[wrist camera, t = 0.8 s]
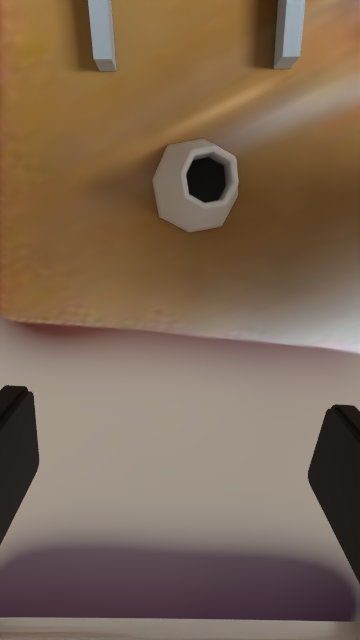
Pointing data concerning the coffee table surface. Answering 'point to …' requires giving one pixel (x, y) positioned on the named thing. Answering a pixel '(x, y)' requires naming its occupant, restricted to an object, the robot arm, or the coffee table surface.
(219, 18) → the coffee table surface
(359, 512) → the robot arm
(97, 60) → the blue frame
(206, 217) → the flask
